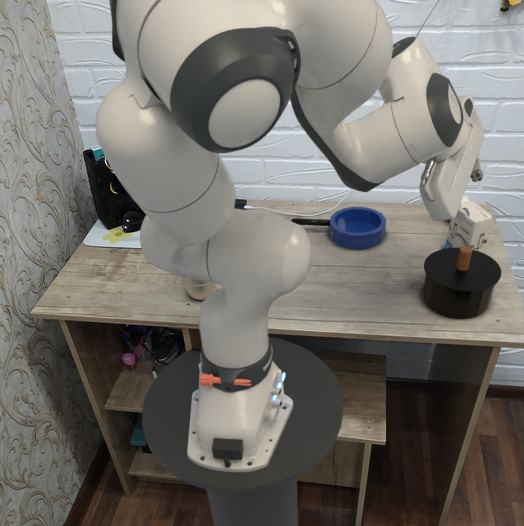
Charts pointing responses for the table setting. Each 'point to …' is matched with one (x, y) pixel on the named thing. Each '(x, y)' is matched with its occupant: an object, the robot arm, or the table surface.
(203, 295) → the plastic bottle
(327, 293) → the table surface
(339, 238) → the pan
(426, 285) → the pot
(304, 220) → the pan handle
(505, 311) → the table surface
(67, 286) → the table surface
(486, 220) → the ink box
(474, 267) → the lid
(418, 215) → the table surface
